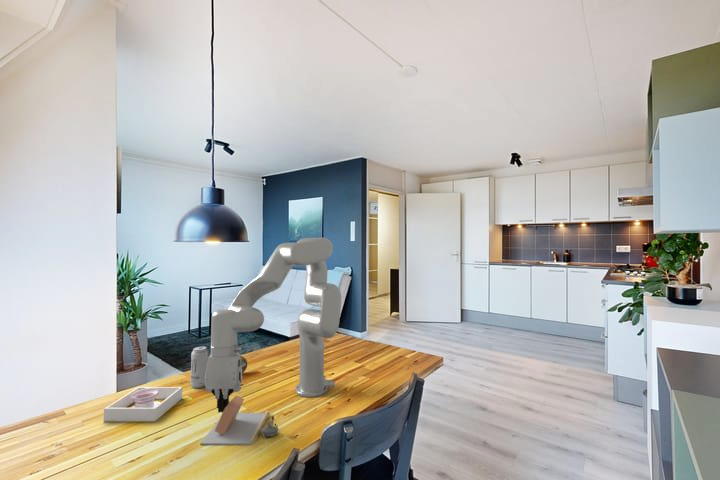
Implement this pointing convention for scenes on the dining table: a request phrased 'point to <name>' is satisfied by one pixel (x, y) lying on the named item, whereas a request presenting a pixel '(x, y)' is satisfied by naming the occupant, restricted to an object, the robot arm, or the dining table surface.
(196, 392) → the dining table surface
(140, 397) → the teacup
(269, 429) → the figurine
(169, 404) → the rectangular tray
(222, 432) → the block
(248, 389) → the dining table surface
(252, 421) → the mat
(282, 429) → the dining table surface
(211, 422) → the dining table surface
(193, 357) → the energy drink can
